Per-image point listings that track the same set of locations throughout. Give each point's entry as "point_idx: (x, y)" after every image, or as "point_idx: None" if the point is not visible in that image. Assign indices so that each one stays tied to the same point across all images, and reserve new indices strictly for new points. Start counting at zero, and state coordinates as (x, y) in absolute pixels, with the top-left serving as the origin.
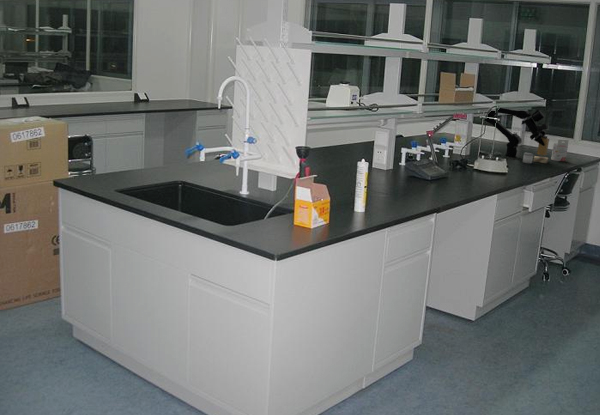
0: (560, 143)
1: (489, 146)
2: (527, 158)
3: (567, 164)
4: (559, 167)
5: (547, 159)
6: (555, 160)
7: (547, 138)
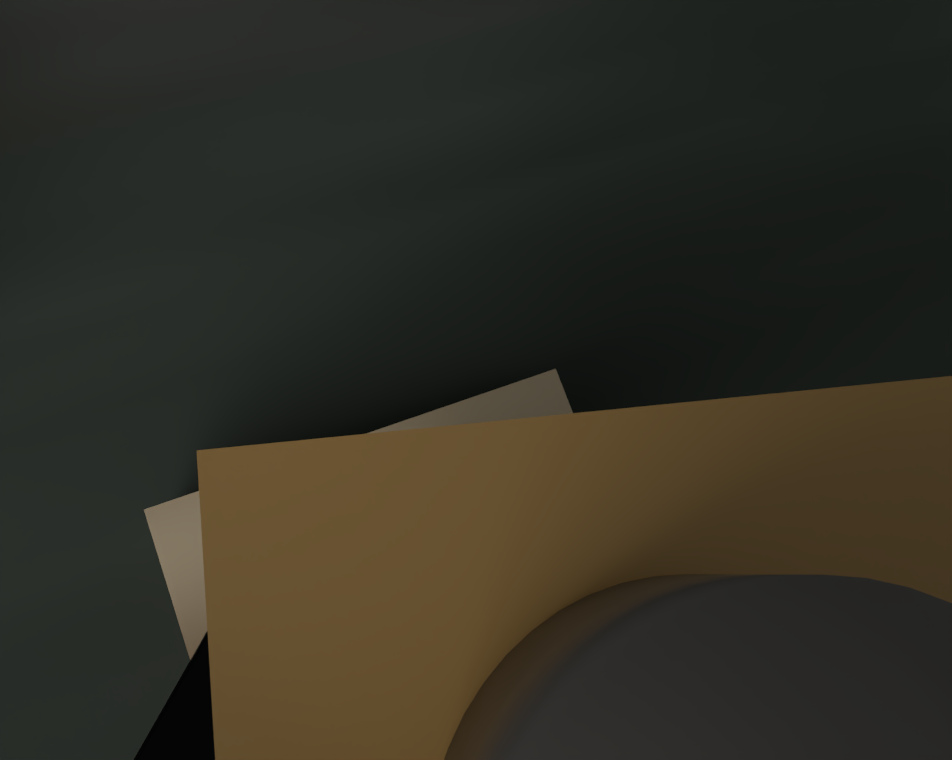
0: None
1: None
2: None
3: (11, 27)
4: (730, 27)
5: (537, 387)
6: None
7: (269, 678)
